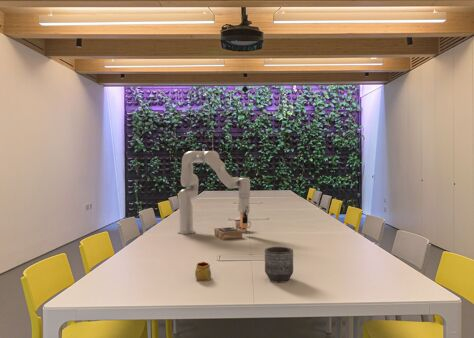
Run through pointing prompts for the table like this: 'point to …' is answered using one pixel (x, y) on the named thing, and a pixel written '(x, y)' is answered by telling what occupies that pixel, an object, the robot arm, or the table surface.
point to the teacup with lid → (237, 225)
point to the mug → (202, 271)
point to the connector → (242, 225)
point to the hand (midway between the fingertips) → (243, 222)
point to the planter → (279, 263)
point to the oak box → (228, 233)
